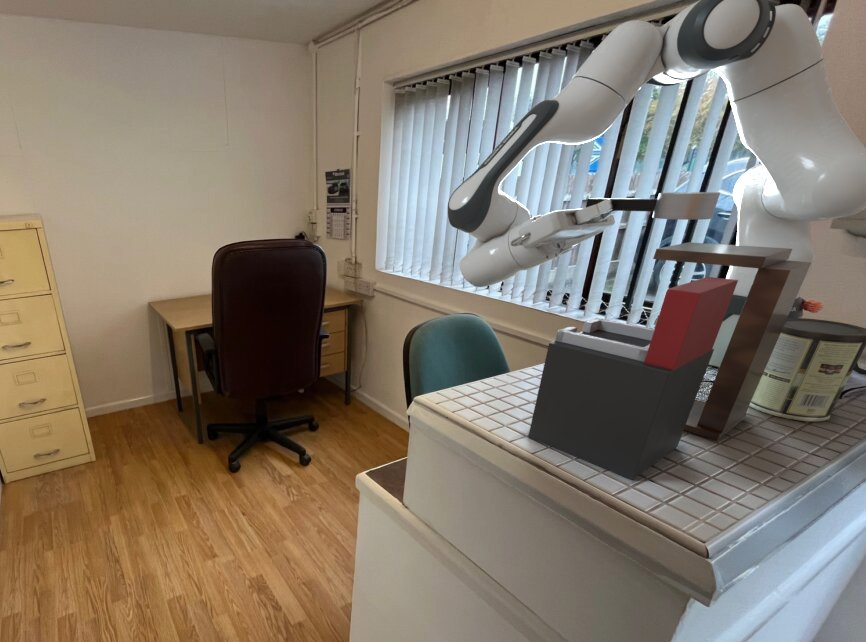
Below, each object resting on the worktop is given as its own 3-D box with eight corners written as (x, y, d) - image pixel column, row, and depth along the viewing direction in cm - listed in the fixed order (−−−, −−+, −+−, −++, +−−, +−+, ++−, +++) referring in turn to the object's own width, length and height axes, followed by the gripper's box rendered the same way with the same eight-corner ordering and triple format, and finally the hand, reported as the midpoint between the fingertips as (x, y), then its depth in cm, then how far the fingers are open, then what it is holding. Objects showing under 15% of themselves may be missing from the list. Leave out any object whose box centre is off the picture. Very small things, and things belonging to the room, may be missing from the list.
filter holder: (575, 215, 78) (581, 193, 76) (596, 213, 81) (601, 192, 80) (701, 220, 65) (710, 193, 63) (719, 217, 68) (728, 192, 67)
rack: (608, 406, 78) (655, 248, 68) (640, 389, 84) (688, 242, 74) (717, 440, 67) (793, 258, 57) (744, 418, 73) (818, 250, 63)
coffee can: (773, 392, 82) (809, 315, 76) (847, 418, 72) (894, 332, 67) (724, 398, 80) (757, 319, 74) (794, 425, 71) (837, 338, 65)
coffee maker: (527, 436, 70) (563, 277, 60) (575, 412, 77) (614, 265, 67) (632, 480, 59) (696, 294, 49) (676, 447, 66) (741, 279, 56)
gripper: (499, 229, 82) (578, 186, 70) (560, 222, 93) (638, 184, 80) (510, 262, 82) (591, 224, 70) (569, 252, 92) (649, 218, 80)
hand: (616, 203), depth 75 cm, fingers closed on filter holder, 2 cm apart
